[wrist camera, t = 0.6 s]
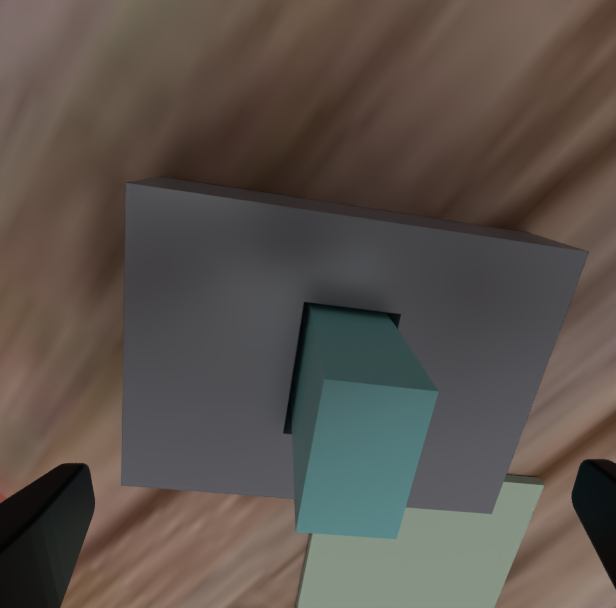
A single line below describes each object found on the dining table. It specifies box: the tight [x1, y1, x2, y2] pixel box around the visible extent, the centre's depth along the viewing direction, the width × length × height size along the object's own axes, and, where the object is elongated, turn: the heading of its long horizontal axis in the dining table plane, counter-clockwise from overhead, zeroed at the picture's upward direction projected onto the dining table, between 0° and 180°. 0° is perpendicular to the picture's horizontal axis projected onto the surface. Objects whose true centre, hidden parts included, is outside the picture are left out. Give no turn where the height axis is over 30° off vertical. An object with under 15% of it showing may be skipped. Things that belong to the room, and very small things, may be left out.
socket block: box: [121, 177, 589, 514], centre depth 18 cm, size 16×12×4 cm
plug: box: [290, 302, 439, 539], centre depth 16 cm, size 3×5×9 cm, turn 171°
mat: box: [295, 475, 544, 608], centre depth 25 cm, size 12×12×1 cm
